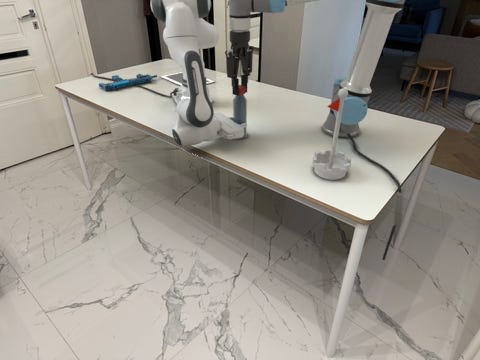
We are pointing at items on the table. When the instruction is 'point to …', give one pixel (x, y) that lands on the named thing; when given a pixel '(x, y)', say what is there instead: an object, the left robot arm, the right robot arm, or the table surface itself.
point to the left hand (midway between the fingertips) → (241, 121)
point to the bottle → (240, 111)
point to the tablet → (180, 78)
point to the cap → (242, 89)
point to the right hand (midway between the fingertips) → (239, 93)
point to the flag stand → (333, 149)
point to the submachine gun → (126, 81)
